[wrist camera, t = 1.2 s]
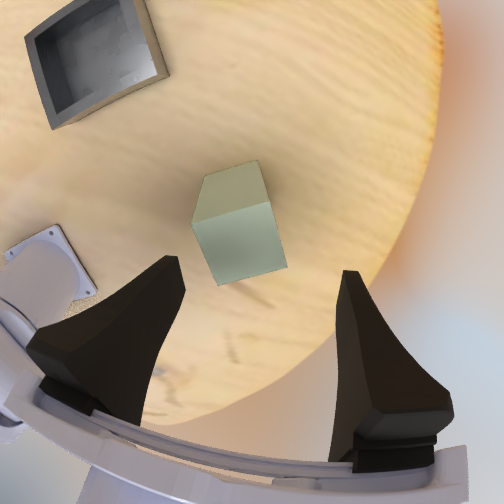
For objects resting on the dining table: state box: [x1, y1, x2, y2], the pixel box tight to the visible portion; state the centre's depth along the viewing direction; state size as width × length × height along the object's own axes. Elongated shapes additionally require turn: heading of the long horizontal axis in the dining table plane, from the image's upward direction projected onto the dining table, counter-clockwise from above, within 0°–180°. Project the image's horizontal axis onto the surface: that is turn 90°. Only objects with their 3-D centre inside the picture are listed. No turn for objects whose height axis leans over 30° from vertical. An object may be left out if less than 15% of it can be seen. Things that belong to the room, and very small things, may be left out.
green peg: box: [191, 160, 288, 286], centre depth 18 cm, size 4×4×8 cm
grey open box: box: [24, 0, 170, 130], centre depth 14 cm, size 8×8×4 cm
